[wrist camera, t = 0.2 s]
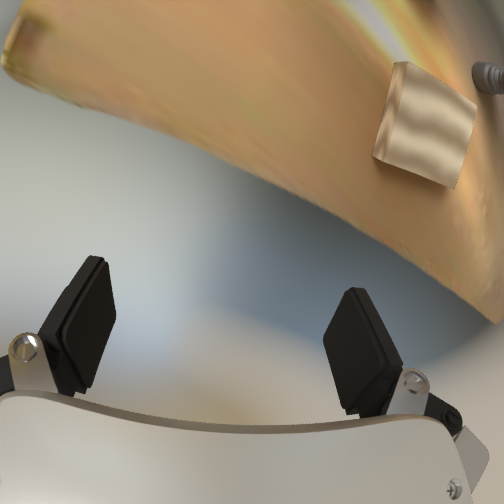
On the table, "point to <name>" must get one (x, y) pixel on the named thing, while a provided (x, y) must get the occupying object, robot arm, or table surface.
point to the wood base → (424, 125)
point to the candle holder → (488, 78)
